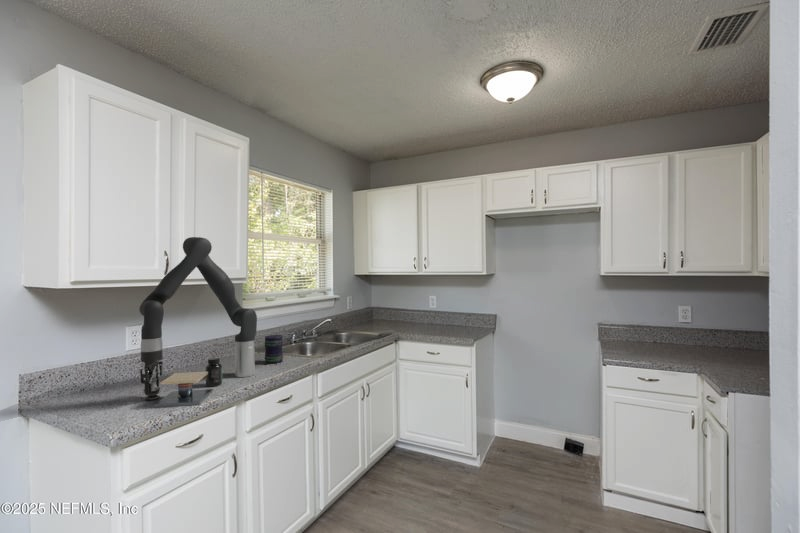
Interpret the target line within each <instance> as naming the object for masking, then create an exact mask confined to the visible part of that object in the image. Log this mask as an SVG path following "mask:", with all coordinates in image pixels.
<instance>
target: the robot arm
mask: <svg viewBox="0 0 800 533" xmlns="http://www.w3.org/2000/svg"><path fill="white" fill-rule="evenodd" d="M212 248H213V247H212V243H211V240H209V239H207V238H205V237H201V236H200V237H199V236H197V237H196V236H192V237H191V236H190V237H188V238H186V239H184V241H183V242H182V250H183V252H184V254H185V257H183V259H182V260H181V261H180V262H179V263H178V264H177V265H176V266H174V268H172V269H171V270H170V271H169V272H168V273H166V275H164V276H163V278H162V279H161V280H160V281H159V283H158V284H157V285H156V287H155V288H154V289H153V291H151V293H149V294H148V295H147V296H146V297H145V299H144V300H143V301H142V302H141V304H140V305H139V314H141V315H142V316H143V317H144V318H143V325H142V326H141V329H140V330H141V333H140V334H141V340H140V362H141V363H144V368H140V369H139V374H140V376H139V377H140V383H141V385H143V384H144V389H145V393H151V391H152V389H151V382H152V378H153V377H154V373H155V371H156V379H157V380H156V385H157V387H160V378H161V377H162V375H163V365H164V364H163V363H164V362H163V361H162V360H163V357H164V356H163V351H164V350H163V349H164V348H163V346H164V345H163V338H162V336H163V335H162V334H163V333H162V332H163V331H162V325H163V321H164V315H165V314H164V311H165V310H164V306H163V305H164V304H165V303H166V301H167V300H170V299H171V298H172V297H173V296H174V295H175V293H176V292H177V290H179V288H180V286H182V284H183V282H185V280H186V279H187V278H188V277H189V275H190V274H192V272H194V270H195V269H196V268H197V270H198V271H199V272H200V274H201V275H202V277H203V278H204V280H205V282H206V283H207V285H208V286H209V289H210V290H212V292H213V294H215V296H216V297H217V299H218V300H219V302H220V304H221V305H222V306H223V308H224V309H225V311H226V313H227V315H228V317H229V320H230V321H231V322H232V324H233V325H235V326H236V327H240V332H239V333H238V334H237V333H236V335H235V336H234V377H236V378H246V377H247V378H248V377H251V376H254V375H255V374H256V371H255V369H256V368H255V367H256V366H255V365H256V361H255V360H256V358H255V357H256V352H255V351H256V350H255V349H256V340H255V337H256V334H257V325H258V324H257V322H258V315H257V312H256V311H255V310H254V309H253V308H244V307H242V306H241V304H240V302H239V301H238V300H237V298H236V291H235V290H236V289H235V285H234V283H233V281H232V280H231V279H230V278H231V277H229V276H228V275H227V273H226V272H225V271H224V270H223V269H222V268H221V267H220V266H218V265H217V264H216V262H214V260H212V258H211V257H210V254H211V251H212V250H213V249H212ZM149 378H150V379H149ZM145 393H144V394H145Z"/></svg>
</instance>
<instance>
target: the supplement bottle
mask: <svg viewBox="0 0 800 533" xmlns="http://www.w3.org/2000/svg"><path fill="white" fill-rule="evenodd" d="M220 359H221V358H220V357H210V358H207V365H206V366H205V372H208V374H207V375H206V376H205V387H207V388H215V387H219V386H221V385H222V384H223V365H222V363H220V362H221V361H220Z"/></svg>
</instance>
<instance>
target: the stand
mask: <svg viewBox="0 0 800 533" xmlns="http://www.w3.org/2000/svg"><path fill="white" fill-rule="evenodd" d="M207 374H208V372H206V371H191V372H175V373H173V374H171V375H170V376H168V377H166V378H164V379H163V380H162V381H160V385H177V390H174V391H171V392H169V393H168V394H167V395H165V396H164V397H162V398H161V399H159V401H157V402H156V403H155V404H154V408H169V407H170V408H171V407H186V406H200V405H201V404H202V403H203V402H204V401H205V400H206V399H207V398H208V397H209V396H210V395H211V394H213V392H214V389H213V388H210V389H193V385H194V384H195V383H196V384H197V383H198V382H200V381H202V379H204V378H206V375H207Z"/></svg>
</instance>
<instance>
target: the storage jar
mask: <svg viewBox="0 0 800 533" xmlns="http://www.w3.org/2000/svg"><path fill="white" fill-rule="evenodd" d="M283 336H284V335H281V334H270V335H266V336H264V347H265V348H264V349H265V350H264V351H265V353H264V364H265V363H266V364H265V365H267V364H276V365H278V364H277V363H281V362H283V360H284V355H283V354H284V353H283V345H284V344H283V343H284V338H283ZM281 364H282V363H281Z"/></svg>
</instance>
